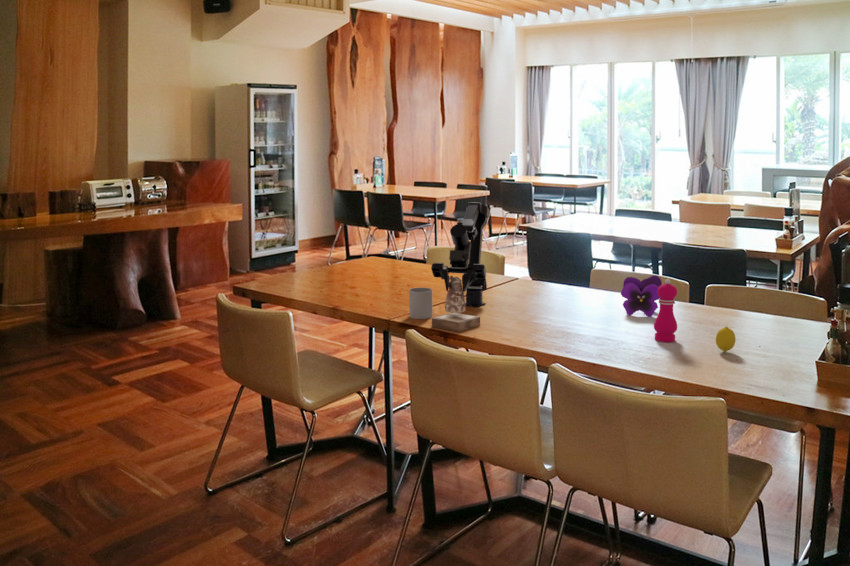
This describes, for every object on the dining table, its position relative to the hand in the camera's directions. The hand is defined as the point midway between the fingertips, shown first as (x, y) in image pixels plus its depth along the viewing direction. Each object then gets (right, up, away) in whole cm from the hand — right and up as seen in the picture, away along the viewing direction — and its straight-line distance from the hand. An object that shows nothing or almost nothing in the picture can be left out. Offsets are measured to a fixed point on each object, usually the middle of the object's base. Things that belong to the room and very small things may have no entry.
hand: (455, 291), depth 265 cm
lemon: (+81, -19, -32) cm, 89 cm away
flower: (+70, -8, +20) cm, 73 cm away
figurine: (0, -7, +3) cm, 8 cm away
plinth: (0, -12, +4) cm, 13 cm away
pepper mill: (+67, -16, -17) cm, 71 cm away
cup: (-12, -10, +18) cm, 24 cm away
